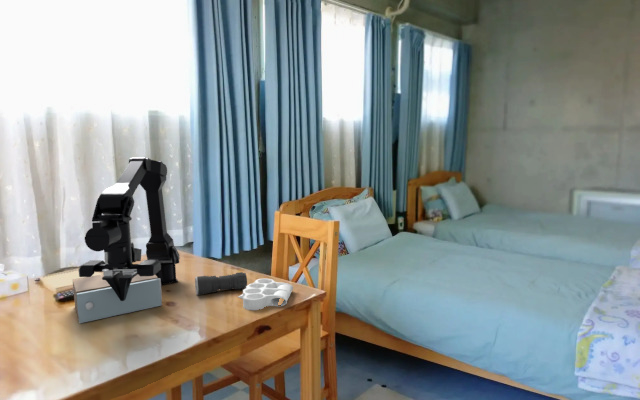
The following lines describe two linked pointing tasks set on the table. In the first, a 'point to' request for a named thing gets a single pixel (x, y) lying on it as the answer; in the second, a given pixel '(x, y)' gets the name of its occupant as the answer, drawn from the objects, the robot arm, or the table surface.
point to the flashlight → (220, 283)
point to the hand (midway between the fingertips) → (123, 300)
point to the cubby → (99, 284)
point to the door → (118, 300)
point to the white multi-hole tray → (265, 294)
